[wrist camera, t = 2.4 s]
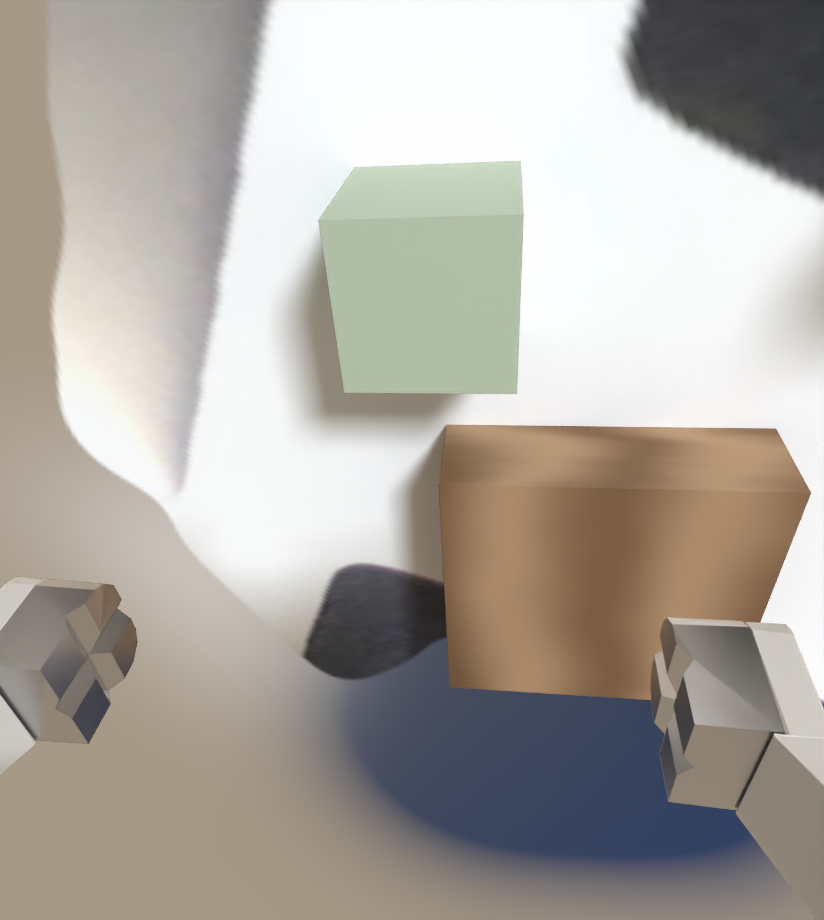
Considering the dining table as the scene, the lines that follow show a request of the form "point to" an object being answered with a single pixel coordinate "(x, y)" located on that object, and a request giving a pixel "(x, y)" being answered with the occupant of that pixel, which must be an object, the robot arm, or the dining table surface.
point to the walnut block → (603, 546)
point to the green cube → (427, 277)
